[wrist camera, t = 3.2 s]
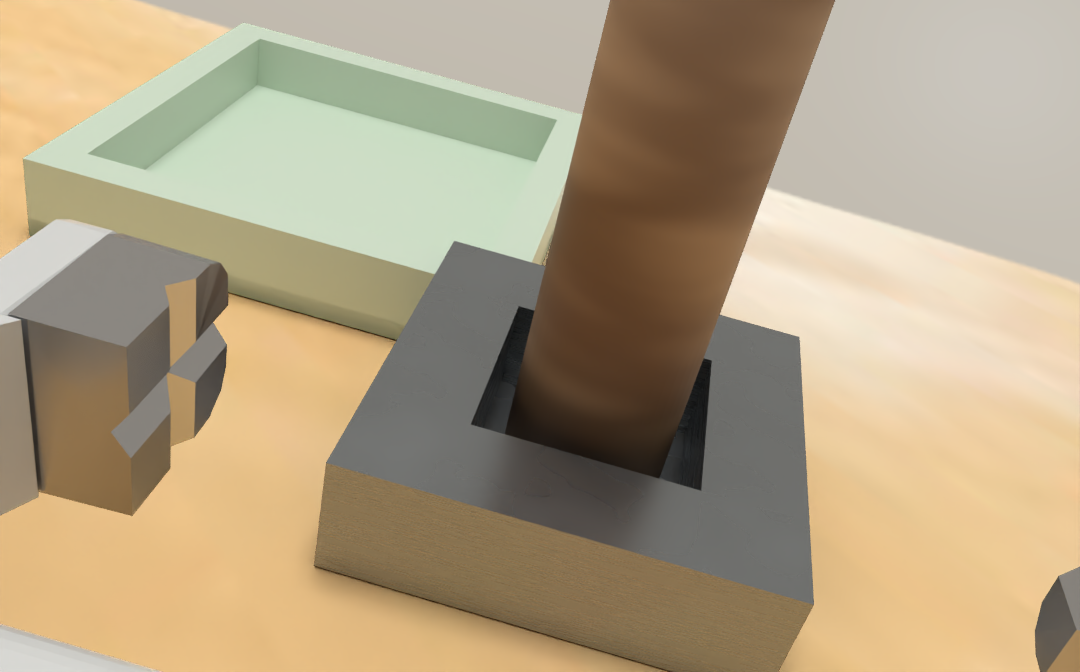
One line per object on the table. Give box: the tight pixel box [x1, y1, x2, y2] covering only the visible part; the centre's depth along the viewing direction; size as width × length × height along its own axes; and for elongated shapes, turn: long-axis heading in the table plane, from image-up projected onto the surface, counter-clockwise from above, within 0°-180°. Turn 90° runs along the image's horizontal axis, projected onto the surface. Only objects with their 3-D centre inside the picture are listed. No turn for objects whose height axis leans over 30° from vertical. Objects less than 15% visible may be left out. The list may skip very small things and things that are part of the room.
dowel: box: [505, 0, 835, 479], centre depth 21 cm, size 4×4×16 cm
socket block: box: [314, 241, 814, 672], centre depth 25 cm, size 10×10×3 cm
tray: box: [23, 23, 582, 340], centre depth 35 cm, size 14×14×2 cm
